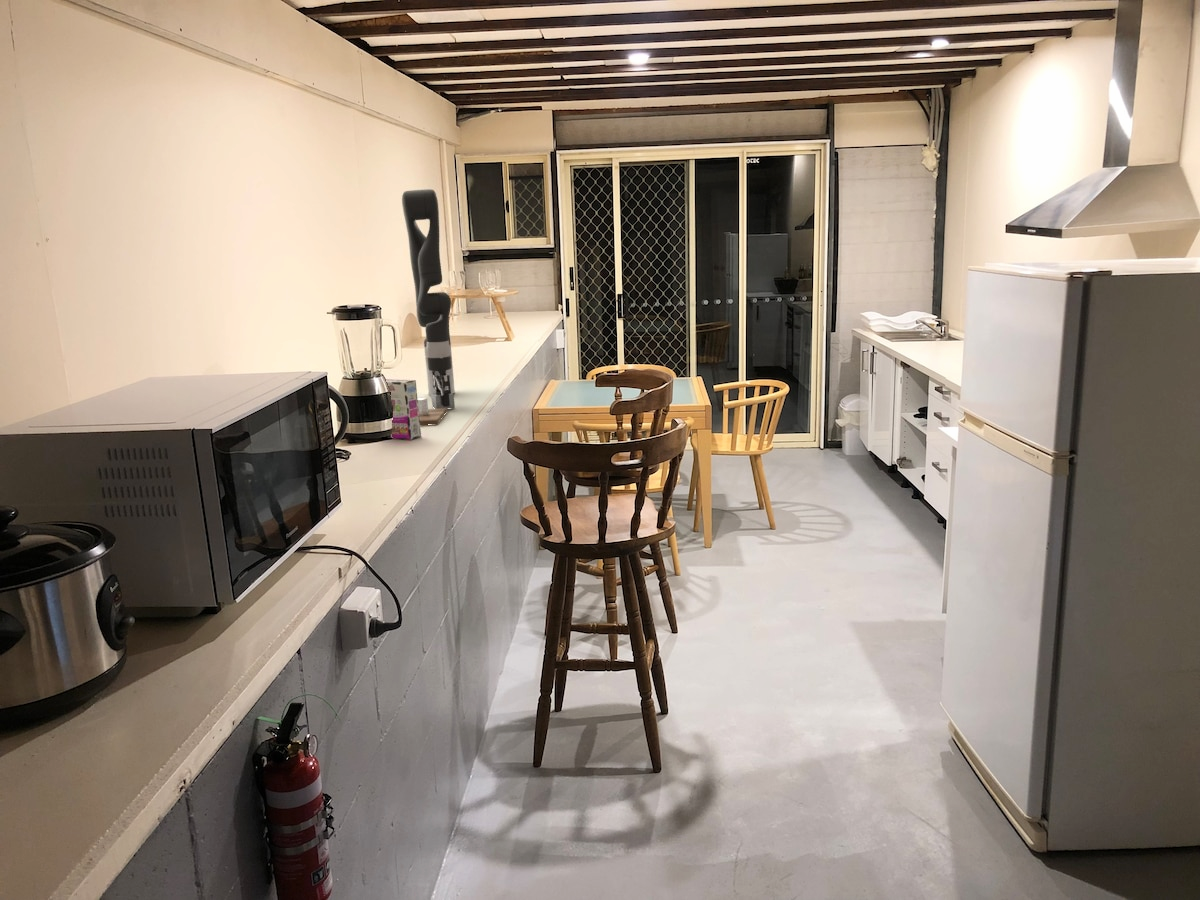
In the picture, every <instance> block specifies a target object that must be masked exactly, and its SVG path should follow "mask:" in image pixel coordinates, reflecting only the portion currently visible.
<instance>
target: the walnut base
mask: <svg viewBox="0 0 1200 900" xmlns="http://www.w3.org/2000/svg"><path fill="white" fill-rule="evenodd" d="M447 411H448V410H447V408H443V409H433V408H428V413H429V414H428V415H425V416H419V420H420V425H426V426H429V425H428V424H438V423H440V422H441V421H442V420H441V418H442V417H443V416H444V414H445V413H446V412H447ZM446 414H447V413H446ZM444 417H445V416H444ZM444 417H443V418H444ZM440 420H441V421H440ZM439 421H440V422H439ZM438 425H439V424H438Z"/></svg>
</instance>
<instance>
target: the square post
mask: <svg viewBox="0 0 1200 900" xmlns="http://www.w3.org/2000/svg"><path fill="white" fill-rule="evenodd" d="M417 400H418V410H419V416H425V415H428V414H429V413H428V409H429V406H428V405H429V404H428V398H423V397H419V398H417Z"/></svg>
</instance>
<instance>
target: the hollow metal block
mask: <svg viewBox="0 0 1200 900" xmlns="http://www.w3.org/2000/svg"><path fill="white" fill-rule="evenodd" d="M454 394H455V393H454ZM454 394H453V393H451V394H450V395H449V400H450V406H448V407H444V406H443V403H442V394H441V392H437V393H431V407H432V408H433V407H434V408H435V409H443V408H455V407H456V405H455V403H456V402H455V395H454ZM455 409H456V408H455Z"/></svg>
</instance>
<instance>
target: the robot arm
mask: <svg viewBox="0 0 1200 900" xmlns="http://www.w3.org/2000/svg"><path fill="white" fill-rule="evenodd" d="M401 204H402V211H403V216H404V221H405V228H406V232H407V237H408V239H407V240H408V247H409V257H410V258H409V259H410V265H411V271H412V272H411V273H412V277H413V282H414V283H413V284H414V292H415V293H414V294H415V304H416V316H417V318H416V319H417V321H418V325H419V326H420V327H422V328H425V338H424V339H423V346H424V357H425V367H426V369H425V370H426V377H427V379H426V380H427V389H428V395H429V396H430V395H431V393H437V392H441V394H442V403H443V406H444V407H448V406H450V400H449V395H450V394H451V393H454V392H455V393H456V390H455V380H454V369H453V368H454V367H453V357H452V356H453V355H452V346H451V345H452V344H451V336H450V335H451V334H450V313H451V307H452V300H451V297H450V295H449V294H448V293H446V292H444V291H439V292H429V290H430V289H431V288H432V287H437V286H439V285H441V284H442V283H443V273H442V264H441V255H440V252H441V251H440V213H439V199H438V196H437V192H436V191H435V190H434V189H431V188H429V189H428V188H427V189H426V188H424V189H414V190H413V189H412V190H411V189H410V190H406V191H403V192H402V196H401ZM423 220H424V221H425V220H428V221H429V228H428V232H427V236H426V235H425V234H424V233H423V232H422V231H421V229H420V227H419V226H418V224H417V221H423ZM455 393H454V394H455Z"/></svg>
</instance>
